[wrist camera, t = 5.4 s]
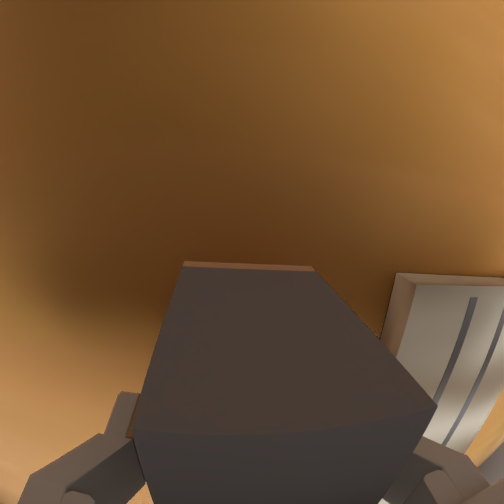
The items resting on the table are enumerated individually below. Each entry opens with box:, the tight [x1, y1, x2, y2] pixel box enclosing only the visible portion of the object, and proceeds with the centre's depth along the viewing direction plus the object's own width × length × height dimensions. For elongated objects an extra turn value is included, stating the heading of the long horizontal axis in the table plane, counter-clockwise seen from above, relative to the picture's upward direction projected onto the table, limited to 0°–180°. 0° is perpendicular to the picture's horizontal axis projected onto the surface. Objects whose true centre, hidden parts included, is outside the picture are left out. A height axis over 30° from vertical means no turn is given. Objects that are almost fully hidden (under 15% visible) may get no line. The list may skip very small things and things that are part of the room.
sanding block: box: [131, 261, 438, 504], centre depth 6 cm, size 7×4×6 cm, turn 176°
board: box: [378, 272, 504, 504], centre depth 14 cm, size 22×10×2 cm, turn 174°
